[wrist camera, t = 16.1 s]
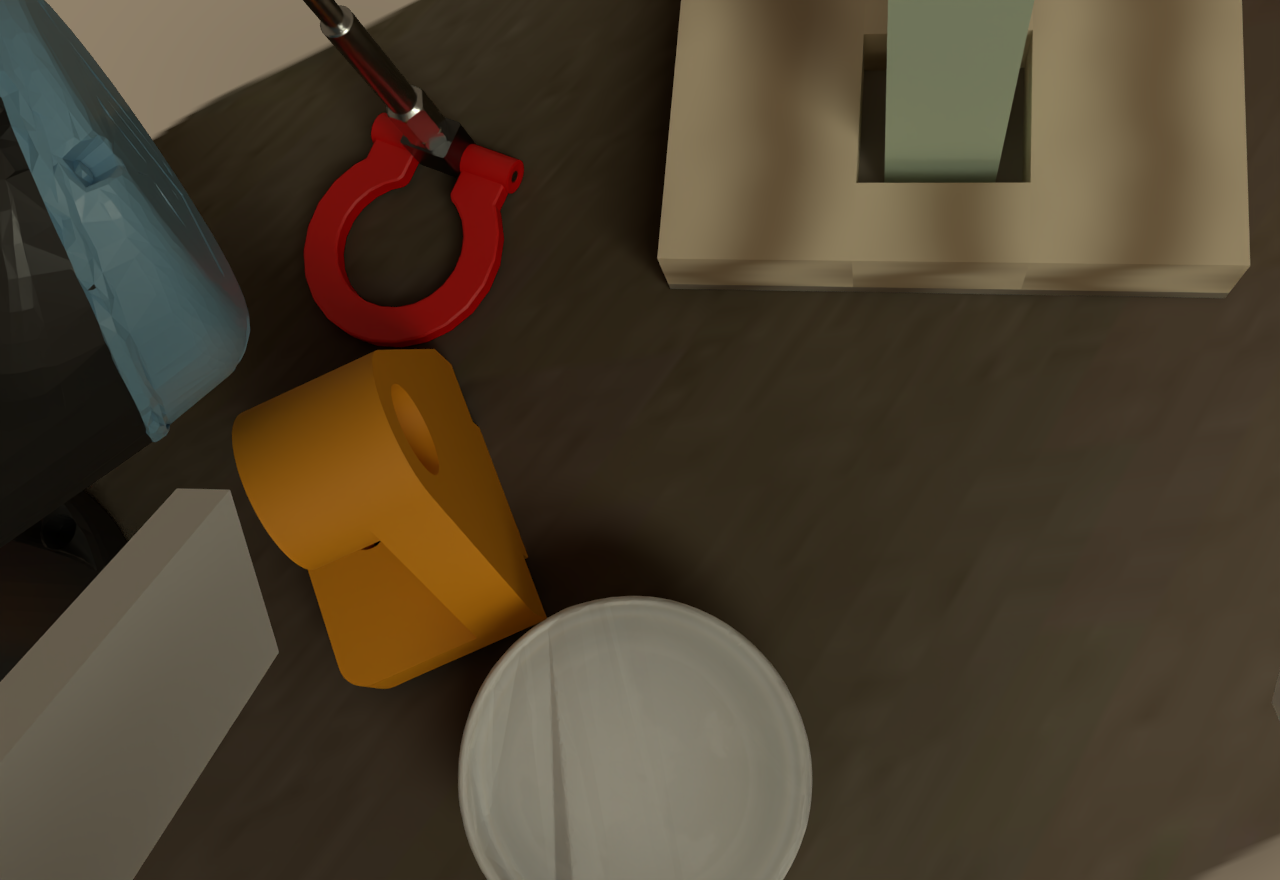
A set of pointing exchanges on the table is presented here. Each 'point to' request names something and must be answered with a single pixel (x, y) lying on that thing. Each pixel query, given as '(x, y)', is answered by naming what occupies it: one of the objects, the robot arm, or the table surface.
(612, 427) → the table surface
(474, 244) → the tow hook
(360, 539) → the bracket
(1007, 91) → the peg
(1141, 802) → the table surface
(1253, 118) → the table surface
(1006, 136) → the block with square hole
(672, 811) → the ramekin
